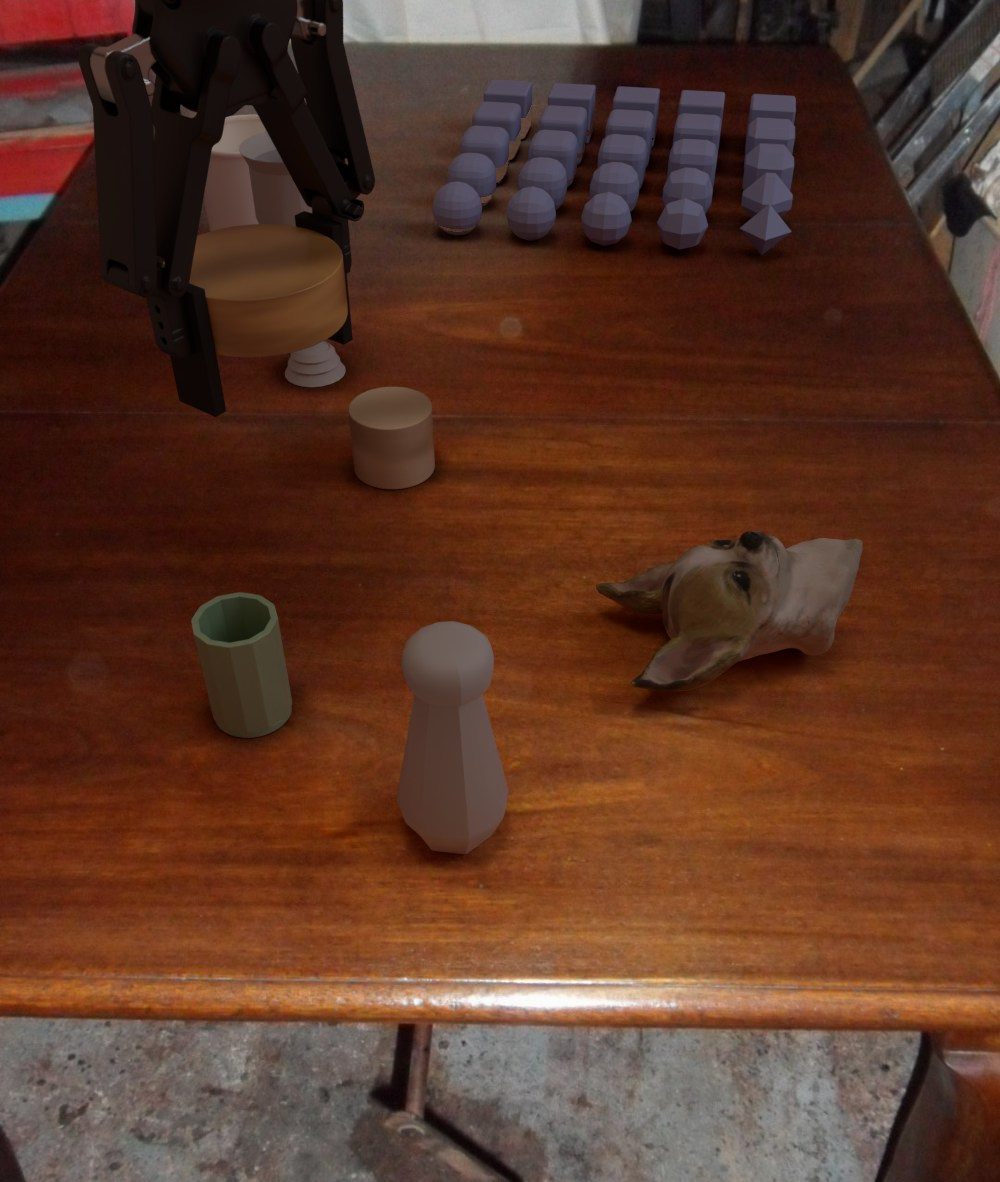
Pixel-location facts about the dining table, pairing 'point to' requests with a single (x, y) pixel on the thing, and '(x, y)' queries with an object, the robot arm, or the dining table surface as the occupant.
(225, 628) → the cup
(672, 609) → the ceramic sculpture
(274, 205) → the chalice
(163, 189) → the robot arm
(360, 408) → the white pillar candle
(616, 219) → the blocks
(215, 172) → the white tapered vessel
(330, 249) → the wooden disc
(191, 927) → the dining table surface
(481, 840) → the salt shaker
